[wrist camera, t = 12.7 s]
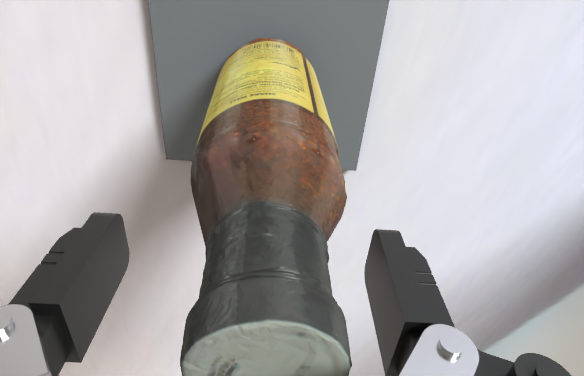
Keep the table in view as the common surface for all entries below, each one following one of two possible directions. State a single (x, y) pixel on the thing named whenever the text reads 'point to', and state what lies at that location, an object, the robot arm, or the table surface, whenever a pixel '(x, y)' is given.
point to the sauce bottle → (266, 223)
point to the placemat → (276, 25)
